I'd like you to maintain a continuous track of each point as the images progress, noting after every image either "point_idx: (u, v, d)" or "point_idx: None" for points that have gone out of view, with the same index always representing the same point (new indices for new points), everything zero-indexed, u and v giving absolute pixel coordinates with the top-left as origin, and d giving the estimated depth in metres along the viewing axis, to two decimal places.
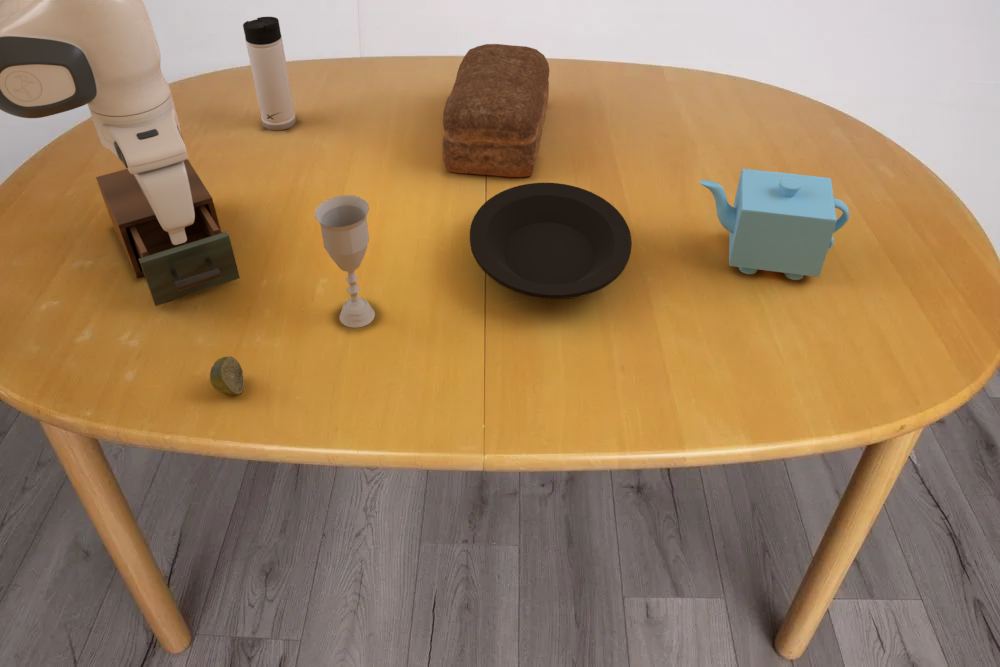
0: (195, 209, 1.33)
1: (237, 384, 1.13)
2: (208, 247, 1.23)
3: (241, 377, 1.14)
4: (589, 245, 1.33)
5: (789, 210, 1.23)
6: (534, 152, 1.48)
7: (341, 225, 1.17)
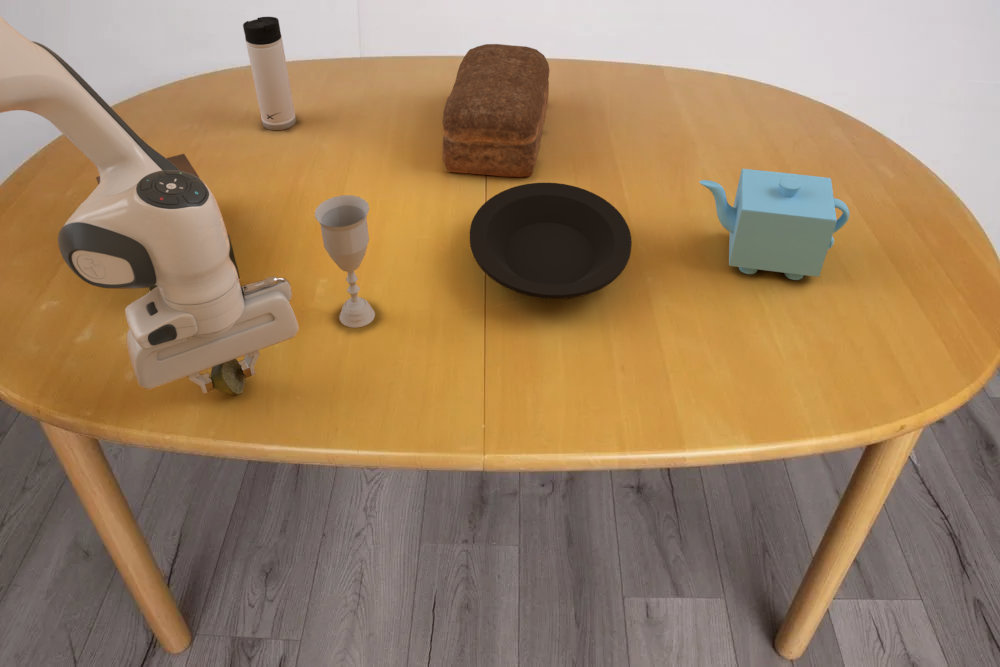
0: None
1: (237, 384, 1.13)
2: None
3: (242, 377, 1.14)
4: (589, 245, 1.33)
5: (789, 210, 1.23)
6: (534, 152, 1.48)
7: (341, 225, 1.17)
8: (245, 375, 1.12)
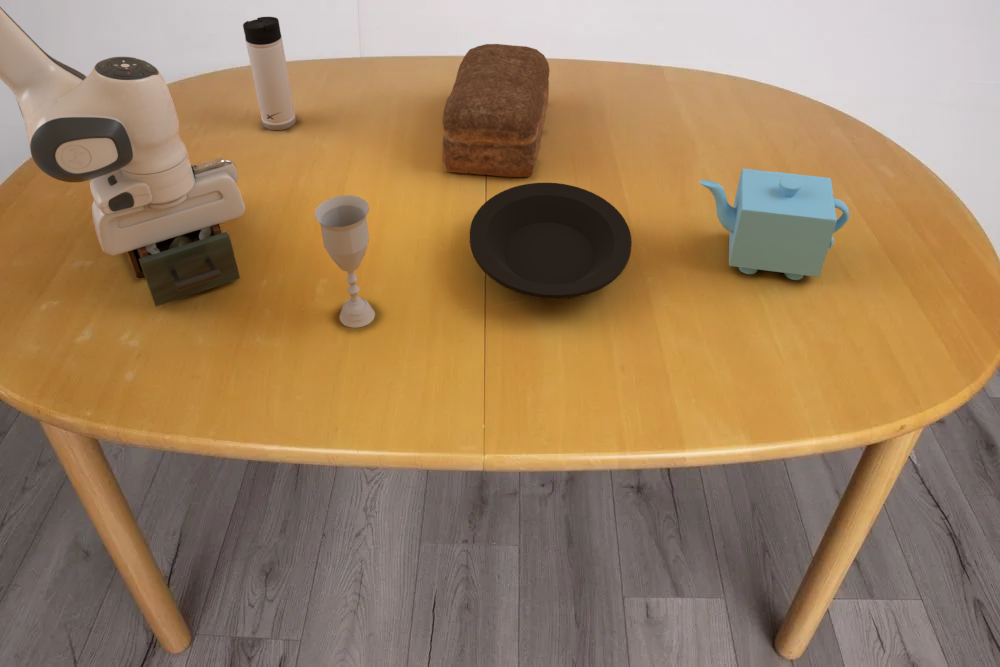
0: None
1: None
2: (208, 247, 1.23)
3: None
4: (589, 245, 1.33)
5: (789, 210, 1.23)
6: (534, 152, 1.48)
7: (341, 225, 1.17)
8: None
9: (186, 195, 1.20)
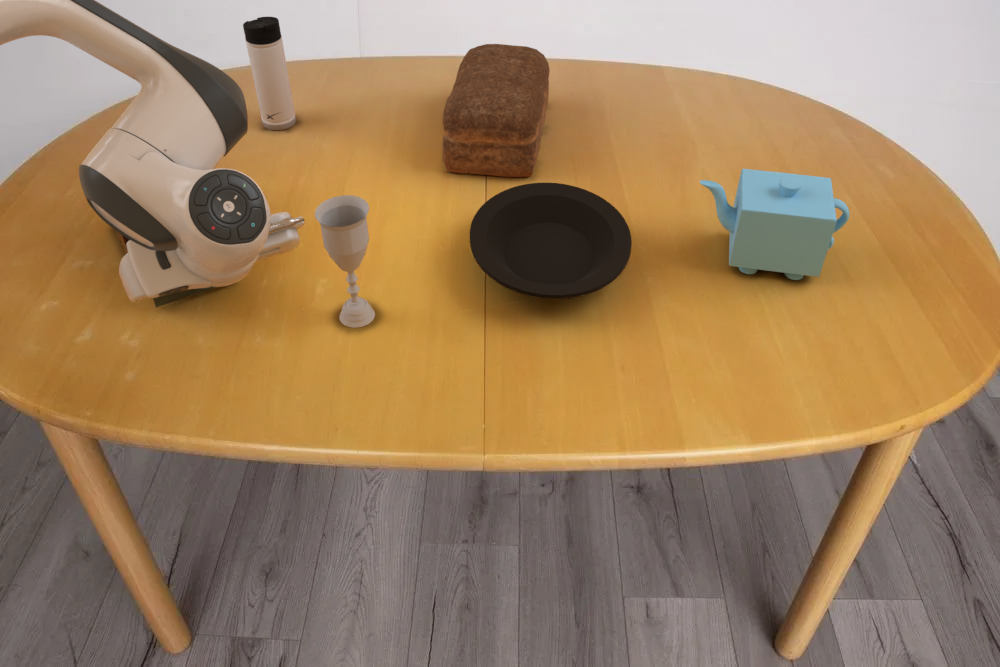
0: None
1: None
2: None
3: None
4: (589, 245, 1.33)
5: (789, 210, 1.23)
6: (534, 152, 1.48)
7: (341, 225, 1.17)
8: None
9: None
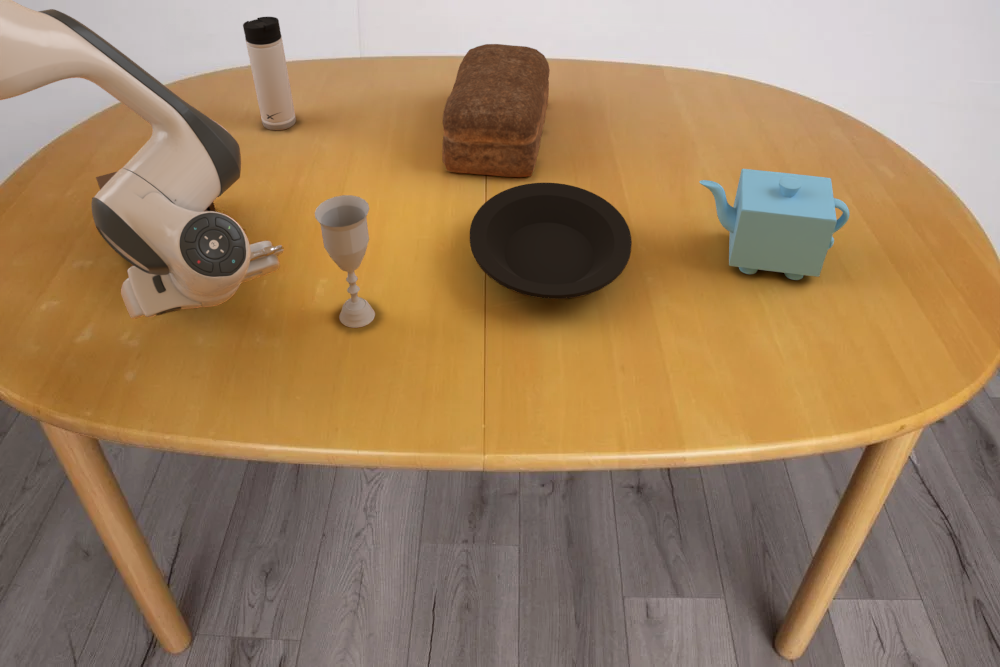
0: None
1: None
2: None
3: None
4: (589, 245, 1.33)
5: (789, 210, 1.23)
6: (534, 152, 1.48)
7: (341, 225, 1.17)
8: None
9: None
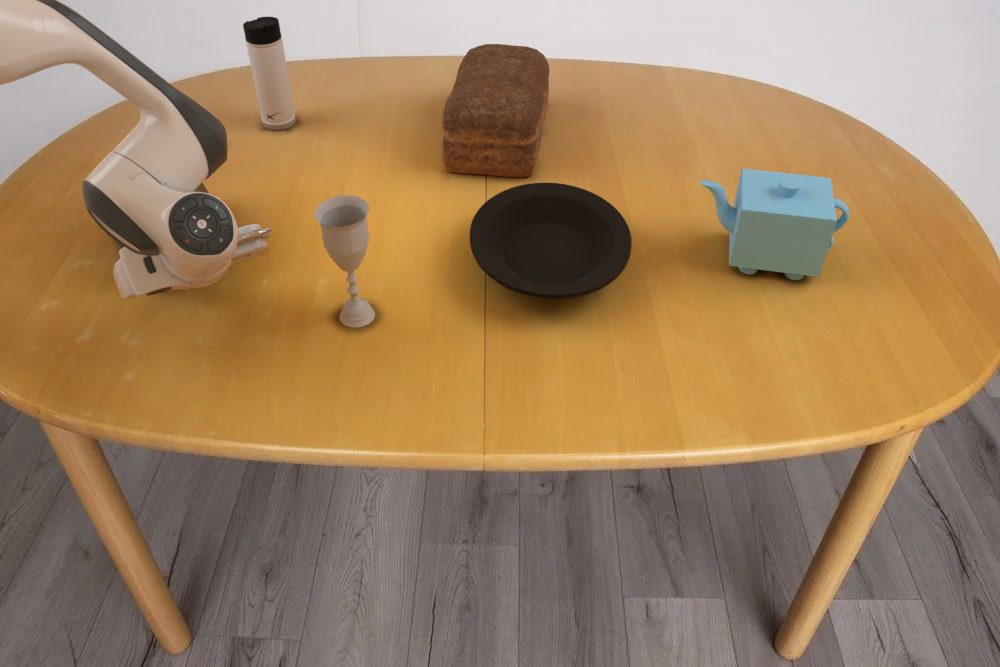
0: None
1: None
2: None
3: None
4: (589, 245, 1.33)
5: (789, 210, 1.23)
6: (534, 152, 1.48)
7: (341, 225, 1.17)
8: None
9: None
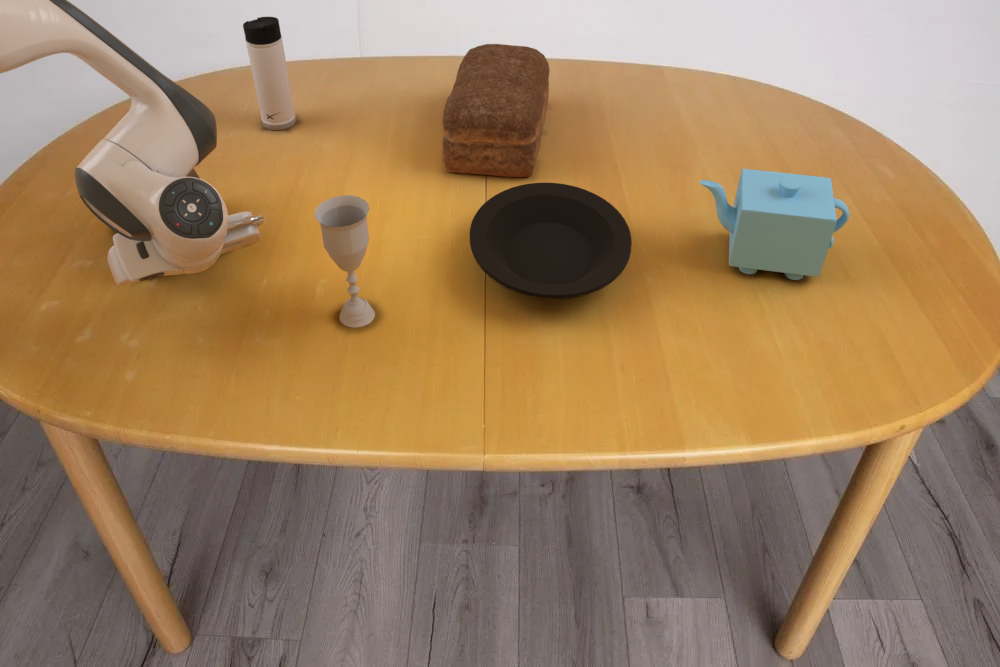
0: None
1: None
2: None
3: None
4: (589, 245, 1.33)
5: (789, 210, 1.23)
6: (534, 152, 1.48)
7: (341, 225, 1.17)
8: None
9: None
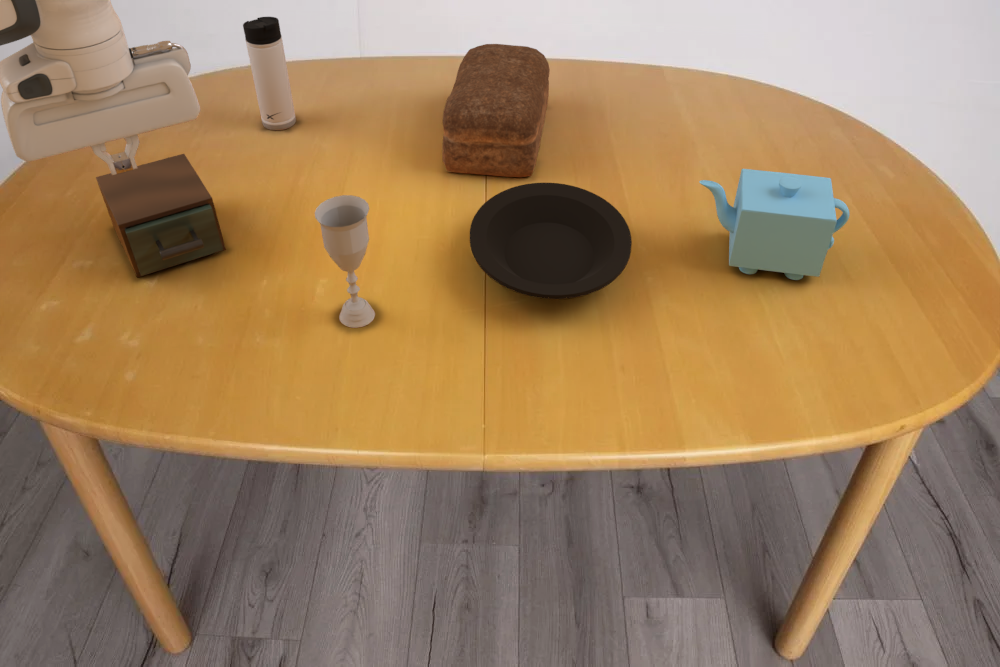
0: None
1: None
2: (191, 219, 1.28)
3: None
4: (589, 245, 1.33)
5: (789, 210, 1.23)
6: (534, 152, 1.48)
7: (341, 225, 1.17)
8: (125, 167, 1.02)
9: (122, 85, 0.95)
